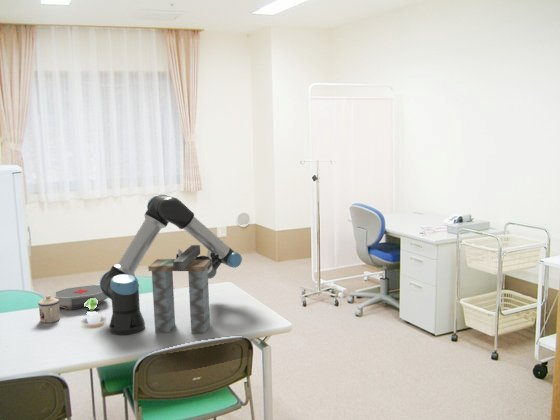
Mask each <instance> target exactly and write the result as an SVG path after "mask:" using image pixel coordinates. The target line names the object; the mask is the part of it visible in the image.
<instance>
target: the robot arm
mask: <svg viewBox="0 0 560 420" xmlns="http://www.w3.org/2000/svg"><path fill="white" fill-rule="evenodd" d="M146 209H147V210H146V212H145V213H144V221H143V223H142V224H141V226H140V228H138V231H137V232H136V233H135V236H134V237H133V239H132V241H131V242H130V243H129V245H128V247H127V248H126V250H125V251H124V253H123V255H122V257H121V258H120V260H119V262H117V263H116V264H113V265H112V266H111V268H110V270H108V271H106V272H104V274H103V275H102V276H101V277H100V280H99V285H100V288H101V290H102V292H103V293H104V294H105V295H106V296H107V297H108V299H110V300H111V304H112V305H111V307H112V316H111V318H110V323H109V332H110V333H111V334H114V335H117V336H118V335H119V336H121V335H123V336H124V335H132V334H133V335H134V334H136V333H139V332H141V331H143V330H144V329H145V327H146V323H145V320H144V317H143V314H142V312H141V307H140V291H139V287H140V284H139V280H138V278H137V277H136V275H135V272H136V270H137V269H138V268H139V266H140V264H141V262H142V261H143V259H144V257H145V256H146V255H147V253H148V251H149V249H150V248H151V246H152V244H153V243H154V241H155V240H156V238H157V236H158V234H159V233H160V231H161V230H162V229H164V228H167V226H168V225H169V223H170V224H172V225H174V226H176V227H177V228H178V229H179V230H184V231H186V233H188V234H189V235H190V236H191V237H192V238H193V239H195V240H196V241H198V242H199V243H200V244H201V245H203V247H205V248H206V249H207V253H206V255H207V256H206V255H198V256H197V258H196V259H195V260H210V265H209V266H208V280H212V279H214V278H215V276H216V275H217V270H218V268H219V267H220V266H221V264H224V265H226V266H228V267H229V268H238V267H240V266H241V263H242V260H243V257H242V256H241V254H240V253H239V252H237V251H234V250H233V249H232V248H231V247H230V246H229V245H227V244H226V243H225V242H224V241H223V240H221V239H220V238H219V237H218V235H216V234H215V233H213V231H211V230H210V228H208V227H207V226H206V225H205V224H204V223H203V222H201V221H200V220H199V219H197V217H195V213H194V212H193V211H191V209H190V208H189V207H188V206H186V204H184V203H183V201H181V200H180V199H178V198H177V197H174V196H170V195H167V194H156V195H154V196H152V197H151V198H150V199H149V200H148V202H147V204H146ZM183 252H184V251H182V250H181V249H178V253H177V254H176V258H175V259H177V258H178V257H179V256H180V255H181V254H182V253H183Z"/></svg>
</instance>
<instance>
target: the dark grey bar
mask: <svg viewBox="0 0 560 420" xmlns="http://www.w3.org/2000/svg"><path fill="white" fill-rule="evenodd" d="M182 252H183V253H182V254H181V255H180V256H179V257H178V258H177V259H176V258H174V259H175V260H174V261H173V270H174V271H173V272H185V271H184V270H185V269H186V268H187V267H188V266H189V265H190V264H191V263H192V262H193V261H194V260H195V259H196V258H197V257H199V256H200V255H201V245H200V244H191V245H190V246H189V247H188V248H187V249H186V250H184V251H182Z"/></svg>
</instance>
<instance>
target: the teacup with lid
mask: <svg viewBox="0 0 560 420" xmlns="http://www.w3.org/2000/svg"><path fill="white" fill-rule="evenodd" d="M37 303H38V309H39V310H38V311H39V321H40V322H41V323H43V324H48V323H49V322H50V323H54V322H58V321H59V320H60V318H61V312H60V306H59V300H58V299H57V298H55V297H51V295H49V294H48V295H46V296H45V298H43V299H41V300H39V301H38V302H37ZM50 323H49V324H50Z"/></svg>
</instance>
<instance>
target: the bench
mask: <svg viewBox="0 0 560 420" xmlns="http://www.w3.org/2000/svg"><path fill="white" fill-rule="evenodd" d="M175 259H176V258H165V259H164V258H163V259H161V258H160V259H159V258H158V259H156V260H155V261H153V262H152V263H151V264H150V265H148V272H151V280H152V281H151V282H152V283H151V284H152V298H153V314H154V315H153V317H154V330H155V331H154V333H156V334H157V333H160V334H161V333H163V334H168V333H170V332H171V330H172V329H173V328H174V327H175V326H176V318H175V317H176V315H175V312H176V311H175V298H174V297H175V295H174V275H173V274H174V273H173V272H175V271H174V270H173V261H174V260H175ZM209 265H210V260H194V261H193V262H192V263H191V264H190V265H189V266H188V267H187V268H186V269H185V270H184V271H183V272H188V291H189V292H188V293H189V296H188V297H189V314H190V315H189V316H190V333H191V334H206V332H207V330H208V329H209V327H210V326H211V325H210V324H211V319H210V299H209V298H210V297H209V294H210V293H209V279H208V266H209Z"/></svg>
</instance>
